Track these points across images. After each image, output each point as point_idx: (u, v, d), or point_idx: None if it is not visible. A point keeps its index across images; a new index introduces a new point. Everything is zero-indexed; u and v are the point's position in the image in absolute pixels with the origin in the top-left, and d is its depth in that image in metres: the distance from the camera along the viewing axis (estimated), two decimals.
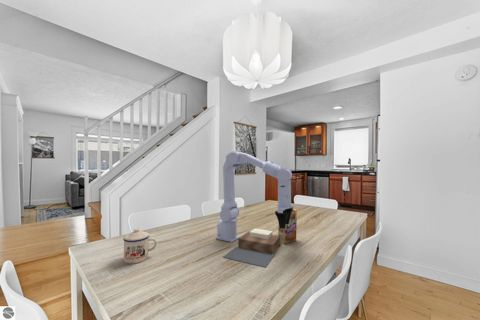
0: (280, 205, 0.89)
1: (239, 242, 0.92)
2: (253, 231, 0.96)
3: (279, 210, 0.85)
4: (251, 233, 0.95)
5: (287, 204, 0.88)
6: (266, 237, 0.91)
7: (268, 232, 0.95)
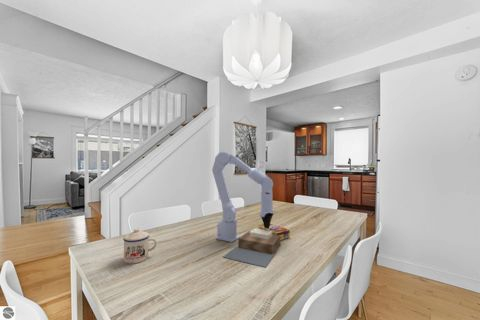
0: (263, 210, 1.01)
1: (239, 242, 0.92)
2: (253, 231, 0.96)
3: (261, 214, 0.97)
4: (251, 233, 0.95)
5: (268, 209, 1.00)
6: (266, 237, 0.91)
7: (268, 232, 0.95)
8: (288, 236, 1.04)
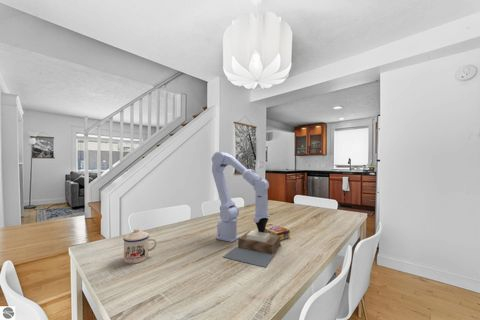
0: (257, 214, 0.94)
1: (239, 242, 0.92)
2: (250, 233, 0.92)
3: (255, 219, 0.90)
4: (248, 236, 0.91)
5: (263, 214, 0.93)
6: (264, 240, 0.88)
7: (266, 235, 0.91)
8: (288, 236, 1.04)
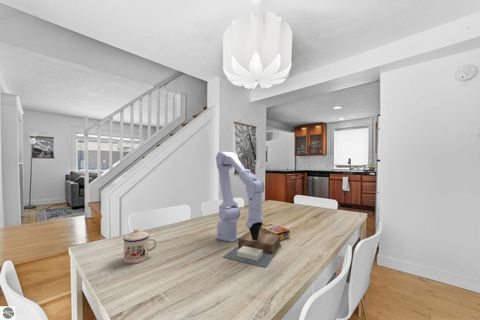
0: (250, 218, 0.87)
1: (239, 242, 0.92)
2: None
3: (247, 224, 0.83)
4: None
5: (257, 218, 0.86)
6: None
7: None
8: (288, 236, 1.04)
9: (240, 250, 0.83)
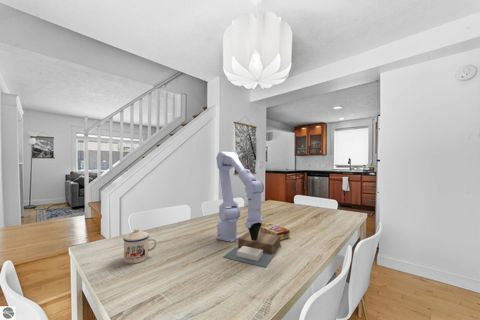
0: (249, 219, 0.86)
1: (239, 242, 0.92)
2: None
3: (246, 225, 0.82)
4: None
5: (256, 218, 0.86)
6: None
7: None
8: (288, 236, 1.04)
9: (240, 250, 0.83)
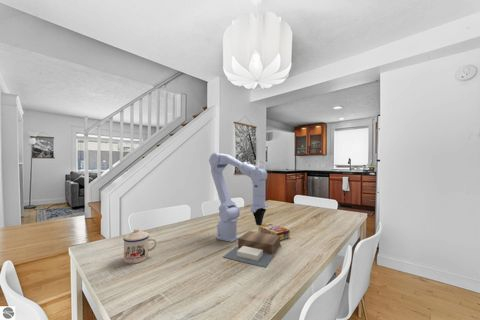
0: (254, 204, 0.92)
1: (239, 242, 0.92)
2: None
3: (252, 209, 0.87)
4: None
5: (261, 204, 0.91)
6: None
7: None
8: (288, 236, 1.04)
9: (240, 250, 0.83)
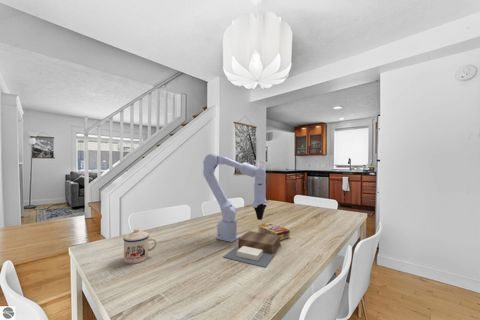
0: (255, 201, 1.01)
1: (239, 242, 0.92)
2: None
3: (253, 205, 0.96)
4: None
5: (261, 200, 1.00)
6: None
7: None
8: (288, 236, 1.04)
9: (240, 250, 0.83)
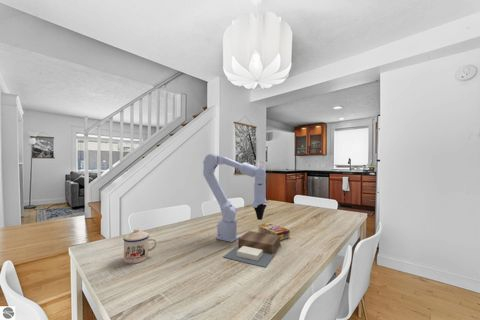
0: (255, 201, 1.01)
1: (239, 242, 0.92)
2: None
3: (253, 205, 0.96)
4: None
5: (261, 200, 1.00)
6: None
7: None
8: (288, 236, 1.04)
9: (240, 250, 0.83)
